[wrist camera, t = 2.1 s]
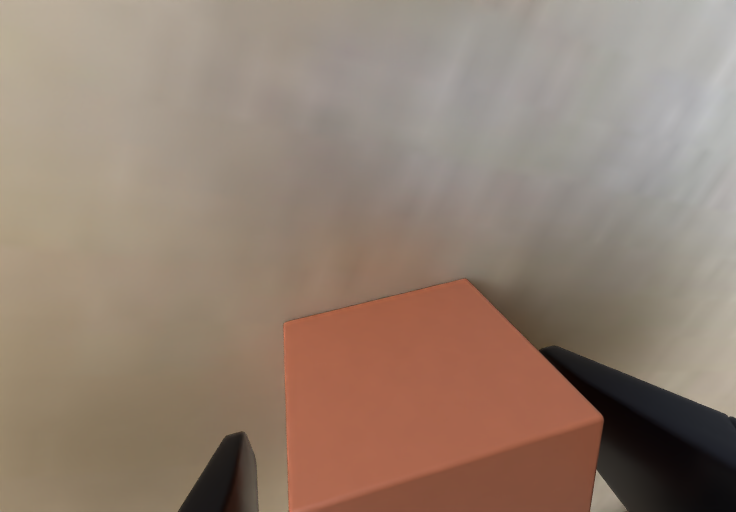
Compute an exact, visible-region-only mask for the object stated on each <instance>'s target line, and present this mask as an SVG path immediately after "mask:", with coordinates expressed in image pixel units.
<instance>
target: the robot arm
mask: <svg viewBox="0 0 736 512" xmlns="http://www.w3.org/2000/svg"><path fill="white" fill-rule="evenodd" d="M539 352H540V353H541V354H542V355H543V356H544V357H545V358H546V359H547V360H548V361H549V362H550V363H551V364H552V365H553V366H554V367H555V368H556V369H557V370H558V371H559V372H560V373H561V374H562V375H563V376H564V377H565V378H566V379H567V380H568V381H569V382H570V383H571V384H572V385H573V386H574V387H575V388H576V389H577V390H578V391H579V392H580V393H581V394H582V395H583V396H584V397H585V398H586V399H587V400H588V401H589V402H590V403H591V404H592V405H593V406H594V407H595V408H596V409H597V410H598V411H599V412H600V413H601V414H602V416H603V419H604V423H603V430H602V436H601V442H600V449H599V455H598V462H597V468H596V470H597V471H598V472H599V474H600V475H601V476H602V477H603V479H604V480H605V481H606V483H607V484H608V485H609V487H610V488H611V489H612V491H613V492H614V493H615V495H616V496H617V497H618V499H619V500H620V501H621V502H622V504H623V505H624V506H625V508H626V509H627V510H628V512H736V418H734V417H728V416H727V415H726V414H724V413H721V412H719V411H716V410H714V409H712V408H709V407H707V406H704V405H702V404H699V403H697V402H694V401H692V400H689V399H687V398H684V397H682V396H679V395H677V394H674V393H672V392H669V391H667V390H665V389H662V388H660V387H657V386H655V385H652V384H650V383H647V382H645V381H642V380H640V379H637V378H635V377H632V376H630V375H627V374H625V373H622V372H620V371H618V370H615V369H613V368H610V367H608V366H605V365H603V364H600V363H598V362H595V361H593V360H590V359H588V358H585V357H583V356H580V355H578V354H575V353H573V352H571V351H568V350H566V349H563V348H561V347H558V346H549V347H546V348H542V349H540V350H539ZM178 512H259V510H258V487H257V465H256V459H255V455H254V452H253V450H252V447H251V445H250V442H249V440H248V437H247V435H246V433H245V432H238V433H234V434H230V435H227V436H226V437H225V438H224V439H223V440H222V442H221V444H220V445H219V447H218V448H217V450H216V452H215V453H214V455H213V456H212V458H211V460H210V461H209V463H208V464H207V466H206V468H205V469H204V471H203V472H202V474H201V476H200V477H199V479H198V480H197V482H196V484H195V485H194V487H193V488H192V490H191V492H190V493H189V495H188V496H187V498H186V500H185V501H184V503H183V504H182V506H181V508H180V509H179V511H178Z"/></svg>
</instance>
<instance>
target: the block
mask: <svg viewBox="0 0 736 512" xmlns="http://www.w3.org/2000/svg"><path fill="white" fill-rule="evenodd" d="M283 330H284V364H285V398H286V432H287V466H288V500H289V512H590V507H591V501H592V494H593V488H594V481H595V475H596V468H597V462H598V455H599V449H600V442H601V436H602V430H603V423H604V419H603V416H602V414H601V413H600V412H599V411H598V410H597V409H596V408H595V407H594V406H593V405H592V404H591V403H590V402H589V401H588V400H587V399H586V398H585V397H584V396H583V395H582V394H581V393H580V392H579V391H578V390H577V389H576V388H575V387H574V386H573V385H572V384H571V383H570V382H569V381H568V380H567V379H566V378H565V377H564V376H563V375H562V374H561V373H560V372H559V371H558V370H557V369H556V368H555V367H554V366H553V365H552V364H551V363H550V362H549V361H548V360H547V359H546V358H545V357H544V356H543V355H542V354H541V353H540V352H539V351H538V350H537V349H536V348H535V347H534V346H533V345H532V344H531V343H530V342H529V341H528V340H527V339H526V338H525V337H524V336H523V335H522V334H521V333H520V332H519V331H518V330H517V329H516V328H515V327H514V326H513V325H512V324H511V323H510V322H509V321H508V320H507V319H506V318H505V317H504V316H503V315H502V314H501V313H500V312H499V311H498V310H497V309H496V308H495V307H494V306H493V305H492V304H491V303H490V302H489V301H488V300H487V299H486V298H485V297H484V296H483V295H482V294H481V293H480V292H479V291H478V290H477V289H476V288H475V287H474V286H473V285H472V284H471V283H470V282H469V281H468V280H467V279H460V280H456V281H452V282H448V283H444V284H440V285H435V286H431V287H427V288H423V289H419V290H415V291H411V292H407V293H403V294H398V295H394V296H390V297H386V298H382V299H378V300H374V301H370V302H366V303H362V304H357V305H353V306H349V307H345V308H341V309H337V310H333V311H329V312H325V313H320V314H316V315H312V316H308V317H304V318H300V319H296V320H292V321H288V322H285V323H284V325H283Z"/></svg>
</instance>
